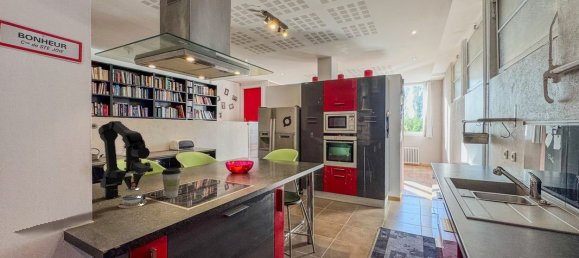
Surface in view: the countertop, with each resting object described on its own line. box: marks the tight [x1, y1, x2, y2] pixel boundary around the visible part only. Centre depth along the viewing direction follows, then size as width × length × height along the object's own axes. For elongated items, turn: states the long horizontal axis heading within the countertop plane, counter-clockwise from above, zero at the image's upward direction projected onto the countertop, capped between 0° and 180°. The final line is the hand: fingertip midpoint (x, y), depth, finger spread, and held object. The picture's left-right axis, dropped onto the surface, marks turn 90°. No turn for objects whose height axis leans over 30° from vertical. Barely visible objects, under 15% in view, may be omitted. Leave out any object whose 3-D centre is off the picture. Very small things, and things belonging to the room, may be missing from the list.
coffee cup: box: [161, 167, 182, 199], centre depth 138 cm, size 10×10×15 cm
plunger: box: [125, 181, 141, 193], centre depth 124 cm, size 6×6×4 cm
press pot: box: [118, 193, 148, 209], centre depth 124 cm, size 12×12×4 cm
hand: (132, 188), depth 124 cm, fingers closed on plunger, 3 cm apart
